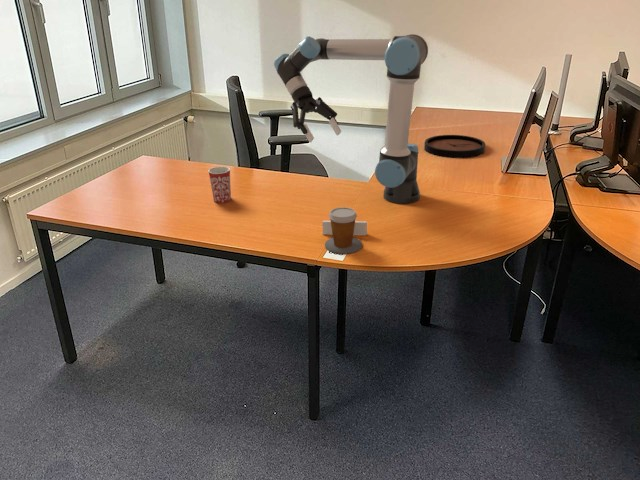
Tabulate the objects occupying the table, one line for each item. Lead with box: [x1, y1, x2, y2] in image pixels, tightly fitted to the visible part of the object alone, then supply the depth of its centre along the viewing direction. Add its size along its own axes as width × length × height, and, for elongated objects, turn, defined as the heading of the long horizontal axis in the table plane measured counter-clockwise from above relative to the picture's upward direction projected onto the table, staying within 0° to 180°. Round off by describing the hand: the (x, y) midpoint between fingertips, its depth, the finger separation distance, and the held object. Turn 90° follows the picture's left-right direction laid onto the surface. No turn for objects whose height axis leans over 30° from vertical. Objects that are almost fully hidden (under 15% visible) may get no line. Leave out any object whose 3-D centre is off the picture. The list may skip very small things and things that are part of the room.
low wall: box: [321, 220, 368, 236], centre depth 191 cm, size 16×1×5 cm, turn 85°
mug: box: [207, 165, 232, 204], centre depth 223 cm, size 13×9×14 cm
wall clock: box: [423, 134, 486, 159], centre depth 282 cm, size 31×4×31 cm
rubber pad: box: [324, 236, 363, 255], centre depth 184 cm, size 13×13×1 cm
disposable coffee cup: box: [328, 206, 358, 248], centre depth 181 cm, size 10×10×12 cm
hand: (325, 136), depth 200 cm, fingers open, 13 cm apart
